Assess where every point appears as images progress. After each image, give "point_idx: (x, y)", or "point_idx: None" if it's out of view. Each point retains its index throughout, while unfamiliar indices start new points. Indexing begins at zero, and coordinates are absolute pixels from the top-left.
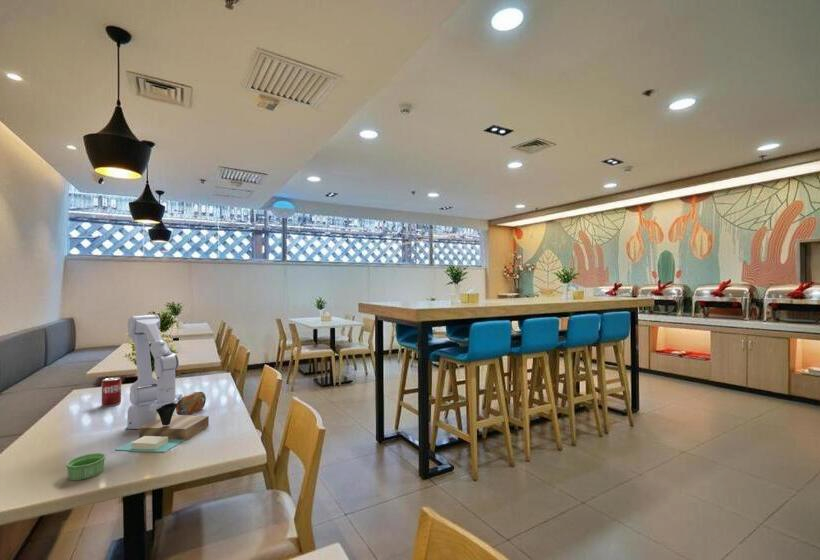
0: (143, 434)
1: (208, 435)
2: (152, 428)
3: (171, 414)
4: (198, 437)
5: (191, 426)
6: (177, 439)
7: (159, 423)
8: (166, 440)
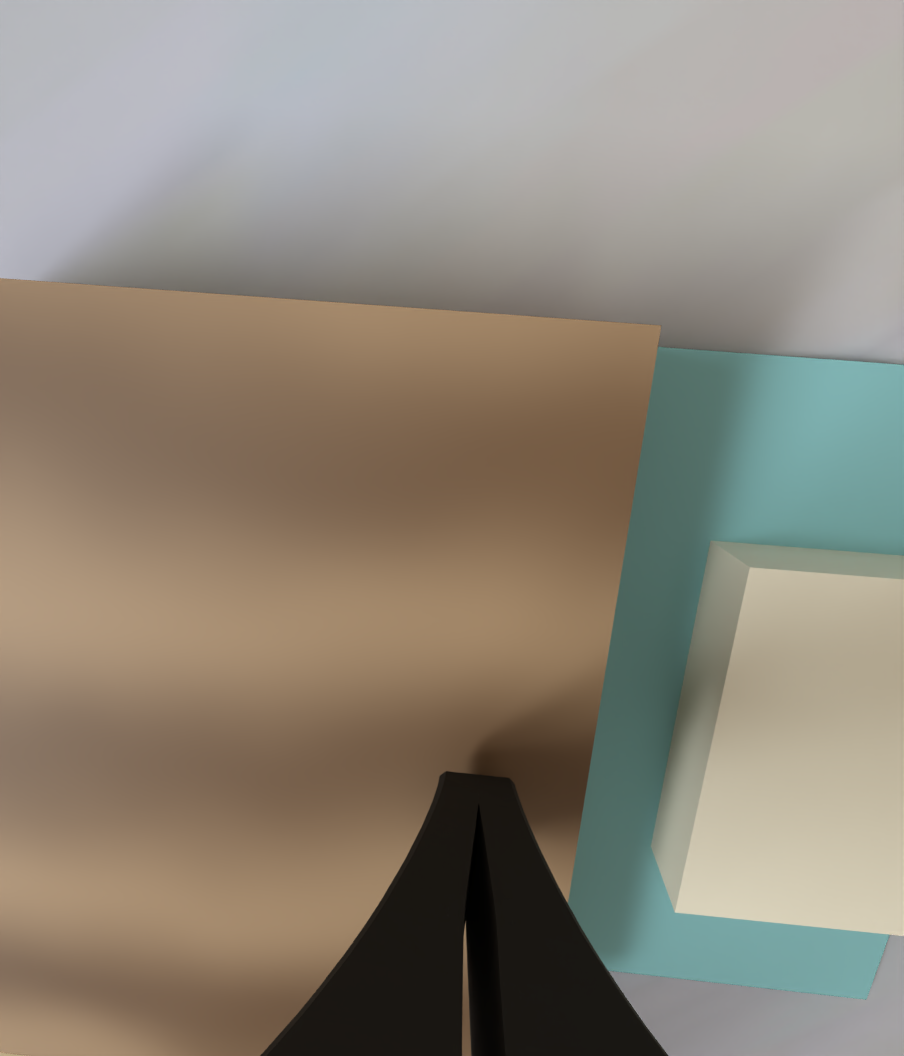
0: None
1: (403, 31)
2: None
3: (435, 926)
4: (494, 178)
5: (440, 312)
6: None
7: None
8: (766, 555)
